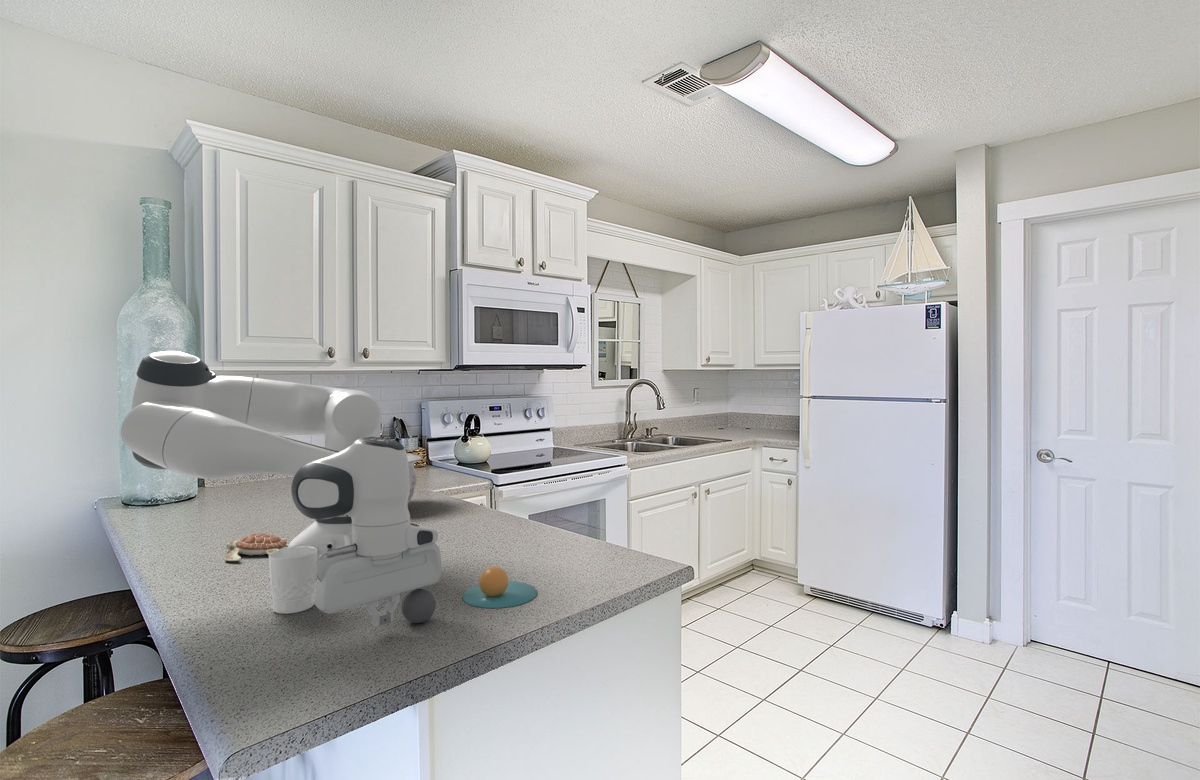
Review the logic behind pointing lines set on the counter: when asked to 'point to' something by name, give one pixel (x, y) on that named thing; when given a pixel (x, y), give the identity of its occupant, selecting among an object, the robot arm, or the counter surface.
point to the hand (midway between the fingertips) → (382, 624)
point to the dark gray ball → (418, 606)
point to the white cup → (293, 579)
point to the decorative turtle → (254, 546)
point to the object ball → (493, 581)
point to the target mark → (501, 596)
